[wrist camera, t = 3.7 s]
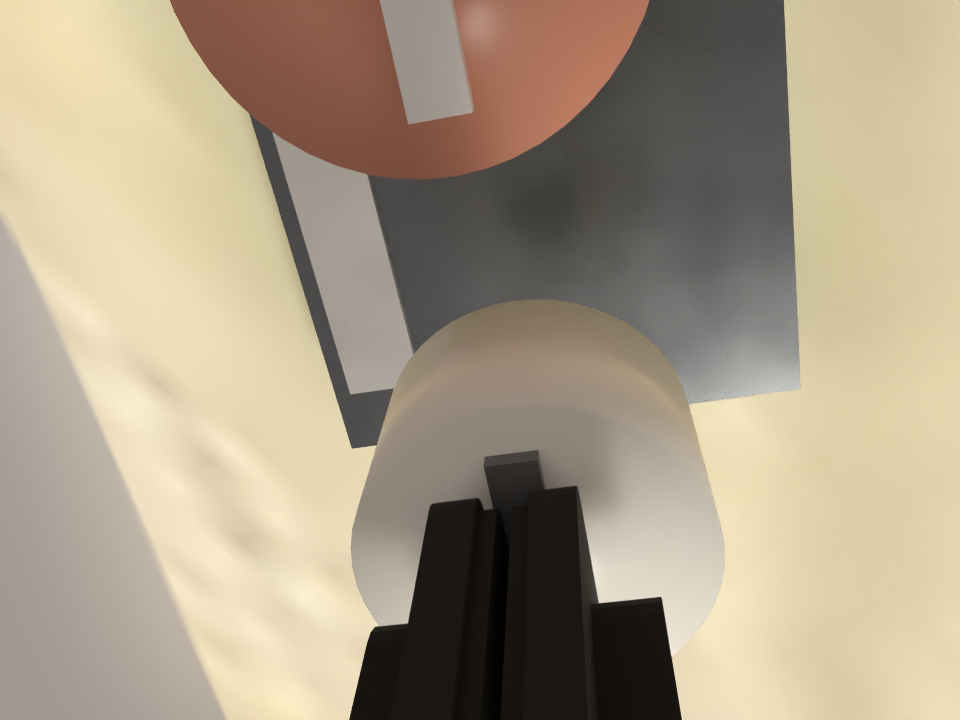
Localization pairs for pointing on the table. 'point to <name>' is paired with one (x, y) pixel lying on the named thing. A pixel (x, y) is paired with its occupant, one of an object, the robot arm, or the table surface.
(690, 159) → the mount plate
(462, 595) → the robot arm
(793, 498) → the table surface
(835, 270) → the table surface
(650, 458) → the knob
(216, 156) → the table surface
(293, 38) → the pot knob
